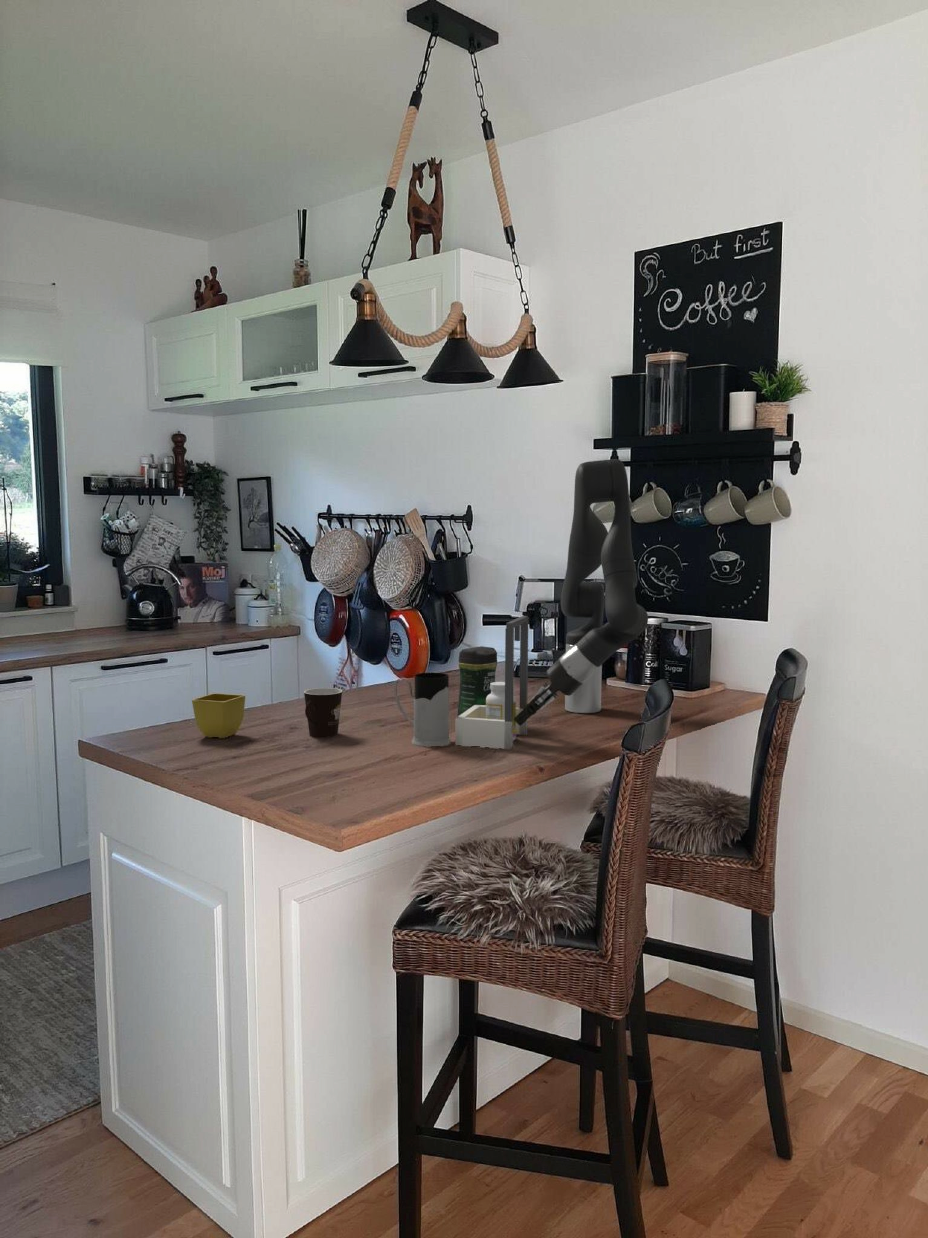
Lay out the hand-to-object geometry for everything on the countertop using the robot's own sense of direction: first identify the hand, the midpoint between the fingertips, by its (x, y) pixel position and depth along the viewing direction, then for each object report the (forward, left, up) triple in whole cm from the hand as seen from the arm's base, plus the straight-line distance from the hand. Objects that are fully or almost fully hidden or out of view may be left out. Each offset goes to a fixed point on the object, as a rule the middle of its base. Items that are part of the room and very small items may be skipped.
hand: (517, 722), depth 215 cm
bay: (0, -6, -4) cm, 7 cm away
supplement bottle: (0, -4, -5) cm, 6 cm away
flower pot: (+15, -66, -5) cm, 67 cm away
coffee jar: (-16, -14, -5) cm, 22 cm away
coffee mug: (+8, -45, -5) cm, 45 cm away
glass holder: (+6, -21, -5) cm, 22 cm away
